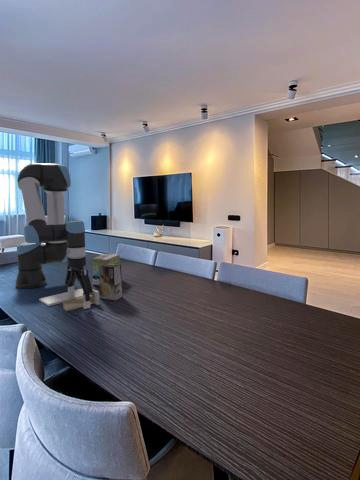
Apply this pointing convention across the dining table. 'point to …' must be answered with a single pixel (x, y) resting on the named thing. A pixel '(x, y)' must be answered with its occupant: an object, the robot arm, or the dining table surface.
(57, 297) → the cutting board
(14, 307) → the dining table surface
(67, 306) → the scraper
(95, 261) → the tea box
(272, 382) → the dining table surface
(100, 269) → the coffee box
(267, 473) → the dining table surface
